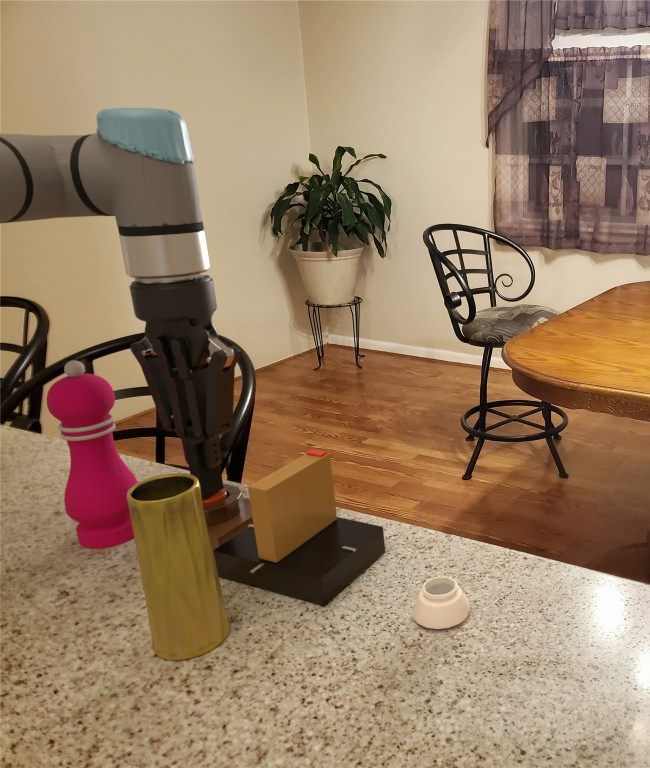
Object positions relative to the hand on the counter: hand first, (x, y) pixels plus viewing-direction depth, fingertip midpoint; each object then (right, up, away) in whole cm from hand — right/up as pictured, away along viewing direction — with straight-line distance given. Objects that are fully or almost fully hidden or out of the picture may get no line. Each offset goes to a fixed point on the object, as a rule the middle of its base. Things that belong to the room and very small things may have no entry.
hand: (209, 492), depth 75 cm
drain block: (0, -4, +1) cm, 5 cm away
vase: (+6, -10, -16) cm, 20 cm away
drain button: (0, -2, +1) cm, 2 cm away
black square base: (+12, -6, -6) cm, 15 cm away
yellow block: (+12, -3, -7) cm, 14 cm away
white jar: (+27, -9, -14) cm, 32 cm away
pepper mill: (-11, -5, +1) cm, 12 cm away
